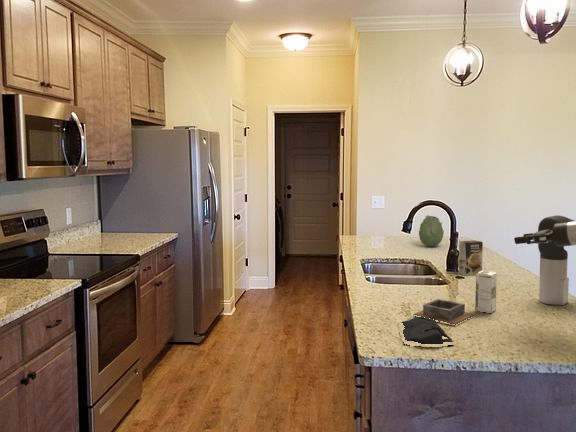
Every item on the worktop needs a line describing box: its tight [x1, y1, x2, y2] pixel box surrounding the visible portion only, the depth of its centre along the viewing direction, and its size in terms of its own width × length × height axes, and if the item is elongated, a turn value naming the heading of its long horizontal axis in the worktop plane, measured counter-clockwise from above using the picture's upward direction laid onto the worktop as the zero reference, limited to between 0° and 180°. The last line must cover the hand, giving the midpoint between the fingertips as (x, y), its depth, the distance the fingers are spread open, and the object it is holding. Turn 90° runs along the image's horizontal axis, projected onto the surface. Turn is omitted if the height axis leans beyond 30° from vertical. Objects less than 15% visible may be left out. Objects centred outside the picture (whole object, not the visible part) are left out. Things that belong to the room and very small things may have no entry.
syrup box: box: [474, 270, 498, 314], centre depth 180 cm, size 6×6×14 cm
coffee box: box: [458, 239, 483, 277], centre depth 238 cm, size 9×6×16 cm
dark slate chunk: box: [400, 317, 454, 344], centre depth 158 cm, size 15×22×5 cm
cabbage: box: [418, 215, 445, 248], centre depth 316 cm, size 16×19×20 cm
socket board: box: [413, 298, 476, 325], centre depth 175 cm, size 16×14×4 cm
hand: (519, 239), depth 167 cm, fingers open, 8 cm apart
